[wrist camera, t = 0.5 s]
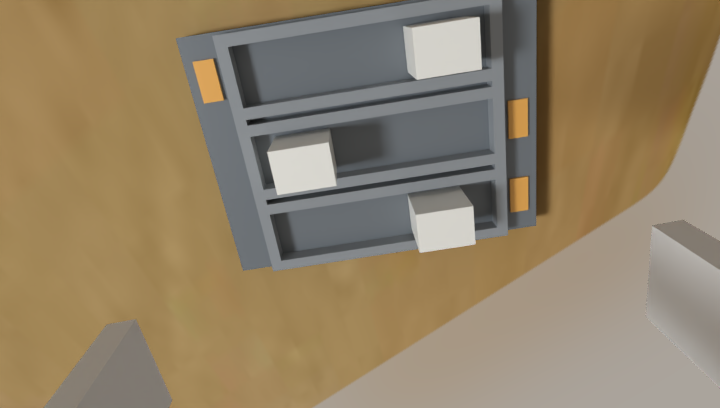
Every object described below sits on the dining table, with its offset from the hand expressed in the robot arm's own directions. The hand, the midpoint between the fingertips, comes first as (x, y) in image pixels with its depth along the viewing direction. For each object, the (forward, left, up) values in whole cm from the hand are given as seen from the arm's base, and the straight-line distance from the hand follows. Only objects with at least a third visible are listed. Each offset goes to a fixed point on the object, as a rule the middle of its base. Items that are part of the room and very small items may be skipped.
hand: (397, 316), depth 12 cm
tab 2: (-4, +6, -23) cm, 24 cm away
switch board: (+2, +1, -24) cm, 24 cm away
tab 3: (+8, +5, -23) cm, 24 cm away
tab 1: (+2, -4, -23) cm, 23 cm away
